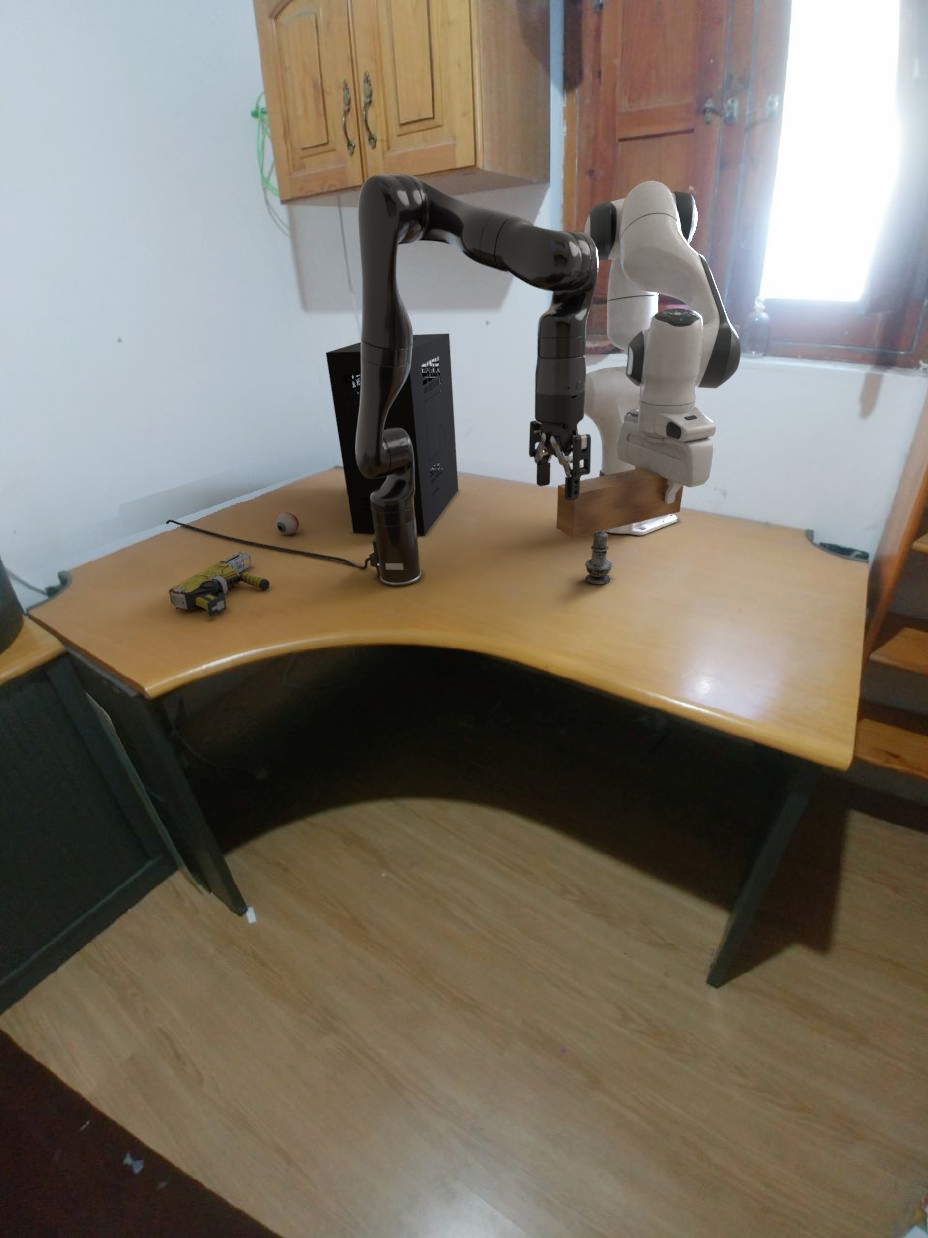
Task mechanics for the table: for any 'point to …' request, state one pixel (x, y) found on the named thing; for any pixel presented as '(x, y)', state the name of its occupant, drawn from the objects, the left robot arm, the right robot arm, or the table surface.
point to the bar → (614, 502)
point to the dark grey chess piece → (599, 560)
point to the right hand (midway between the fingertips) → (655, 496)
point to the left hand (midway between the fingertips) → (557, 492)
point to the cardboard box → (418, 413)
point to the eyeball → (287, 523)
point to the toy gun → (214, 585)
